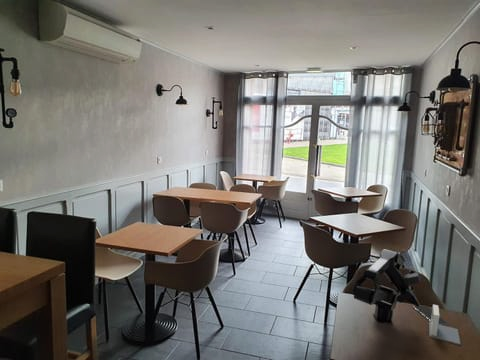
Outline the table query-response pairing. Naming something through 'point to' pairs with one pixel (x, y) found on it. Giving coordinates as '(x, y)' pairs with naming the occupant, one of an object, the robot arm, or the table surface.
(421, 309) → the smartphone
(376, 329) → the table surface
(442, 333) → the mat
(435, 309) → the tile
